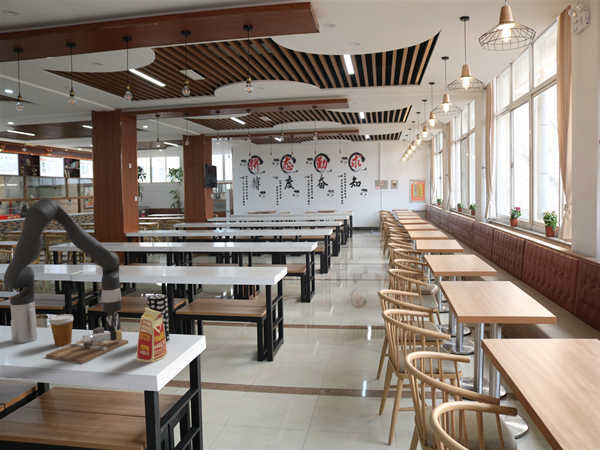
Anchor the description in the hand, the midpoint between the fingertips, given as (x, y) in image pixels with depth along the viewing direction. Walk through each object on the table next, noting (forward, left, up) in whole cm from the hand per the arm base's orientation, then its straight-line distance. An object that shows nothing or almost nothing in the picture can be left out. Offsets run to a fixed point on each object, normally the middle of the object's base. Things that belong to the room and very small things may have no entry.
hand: (113, 339), depth 189 cm
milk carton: (+23, -3, -4) cm, 23 cm away
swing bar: (-5, -1, -1) cm, 5 cm away
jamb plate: (-9, -5, -4) cm, 11 cm away
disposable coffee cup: (-26, -3, -4) cm, 27 cm away
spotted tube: (+13, +13, -4) cm, 19 cm away
